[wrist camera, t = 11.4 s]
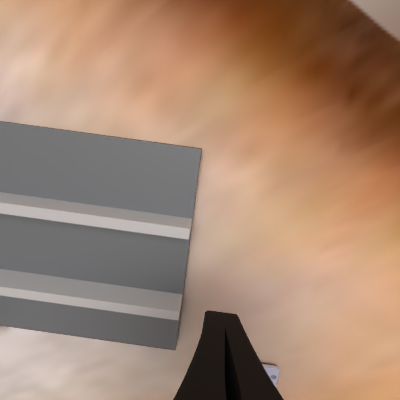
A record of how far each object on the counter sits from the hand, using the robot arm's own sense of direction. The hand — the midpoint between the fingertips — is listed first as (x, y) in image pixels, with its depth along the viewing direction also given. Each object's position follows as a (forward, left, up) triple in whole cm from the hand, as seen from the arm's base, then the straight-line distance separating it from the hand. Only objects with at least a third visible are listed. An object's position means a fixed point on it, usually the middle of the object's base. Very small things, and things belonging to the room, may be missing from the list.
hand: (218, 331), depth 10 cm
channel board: (-2, +19, -9) cm, 21 cm away
